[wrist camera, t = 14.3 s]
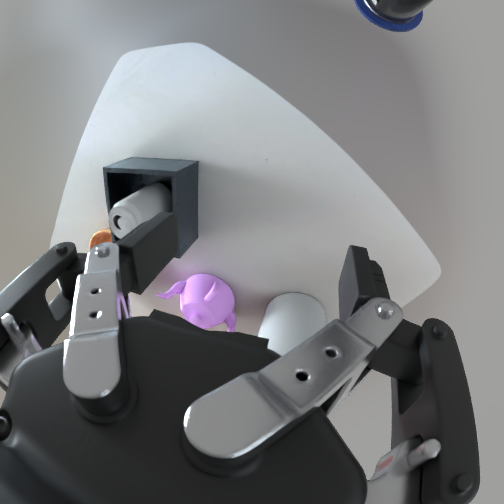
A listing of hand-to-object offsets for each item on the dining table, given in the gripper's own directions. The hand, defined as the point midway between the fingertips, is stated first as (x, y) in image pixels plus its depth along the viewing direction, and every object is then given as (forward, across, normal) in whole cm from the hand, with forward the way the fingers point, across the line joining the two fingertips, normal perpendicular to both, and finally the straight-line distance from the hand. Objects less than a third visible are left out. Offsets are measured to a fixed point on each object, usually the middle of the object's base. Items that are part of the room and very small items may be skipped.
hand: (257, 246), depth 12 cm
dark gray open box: (+32, +24, +11) cm, 41 cm away
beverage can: (+31, +24, +11) cm, 41 cm away
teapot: (+32, +14, +31) cm, 47 cm away
